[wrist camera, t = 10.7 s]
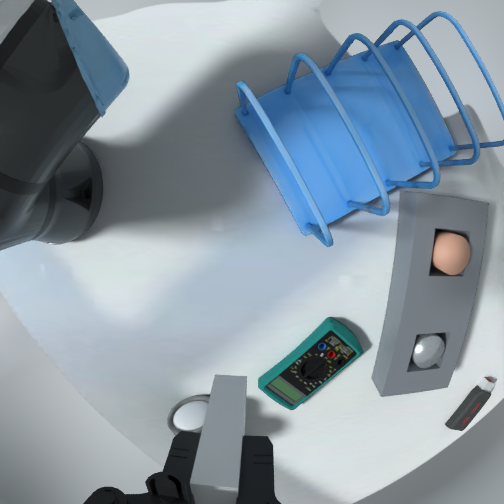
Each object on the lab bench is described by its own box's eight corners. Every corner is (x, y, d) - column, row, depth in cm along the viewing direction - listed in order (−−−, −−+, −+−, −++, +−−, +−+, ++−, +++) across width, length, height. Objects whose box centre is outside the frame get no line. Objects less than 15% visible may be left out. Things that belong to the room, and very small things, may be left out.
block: (400, 190, 37) (417, 192, 32) (468, 200, 37) (488, 203, 32) (371, 377, 43) (381, 396, 38) (434, 371, 43) (447, 387, 38)
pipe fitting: (168, 398, 45) (160, 446, 35) (215, 388, 44) (215, 438, 35) (197, 441, 48) (196, 486, 38) (240, 433, 48) (244, 479, 38)
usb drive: (444, 422, 46) (449, 431, 44) (480, 375, 44) (487, 382, 41) (458, 425, 47) (463, 433, 44) (492, 380, 44) (499, 387, 41)
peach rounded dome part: (427, 229, 36) (442, 234, 32) (456, 231, 36) (472, 236, 32) (422, 266, 37) (437, 274, 33) (451, 267, 37) (466, 275, 33)
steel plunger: (407, 325, 40) (419, 338, 36) (435, 324, 40) (448, 335, 36) (400, 355, 41) (410, 369, 37) (427, 353, 41) (439, 366, 37)
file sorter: (302, 234, 39) (327, 266, 24) (234, 113, 36) (217, 72, 21) (452, 152, 36) (524, 146, 21) (393, 44, 33) (444, -5, 18)
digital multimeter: (363, 341, 42) (369, 351, 40) (290, 402, 45) (291, 414, 42) (331, 311, 42) (335, 320, 39) (255, 378, 44) (255, 389, 41)
